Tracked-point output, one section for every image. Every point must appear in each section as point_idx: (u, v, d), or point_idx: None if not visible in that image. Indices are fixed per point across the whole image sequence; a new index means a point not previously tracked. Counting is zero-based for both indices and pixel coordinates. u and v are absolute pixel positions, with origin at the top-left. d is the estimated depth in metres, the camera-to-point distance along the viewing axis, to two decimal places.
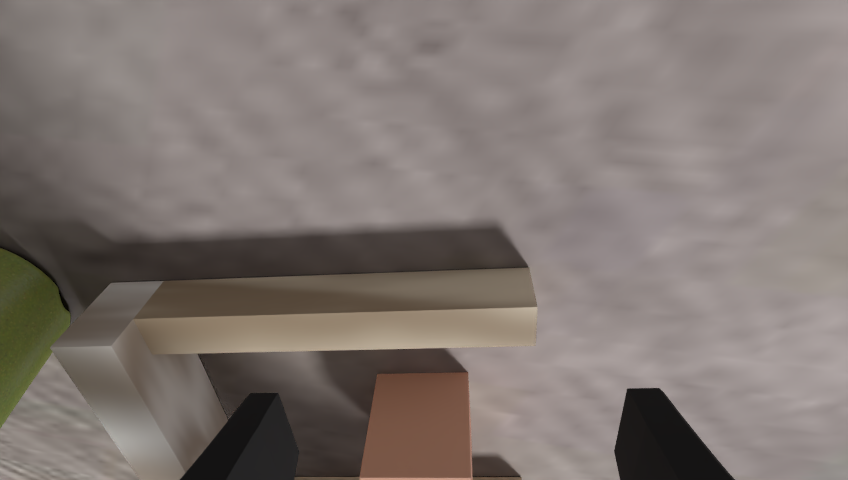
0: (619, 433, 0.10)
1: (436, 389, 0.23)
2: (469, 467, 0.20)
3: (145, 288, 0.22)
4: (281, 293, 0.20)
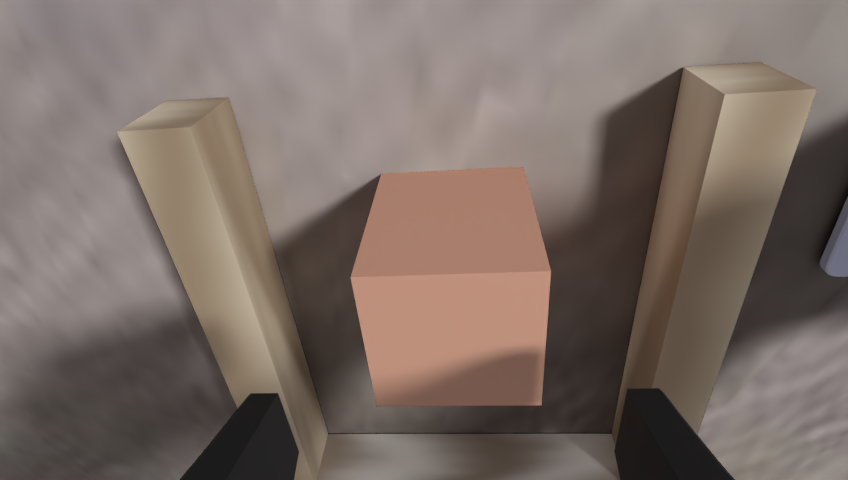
0: (619, 433, 0.10)
1: None
2: (354, 267, 0.12)
3: None
4: None
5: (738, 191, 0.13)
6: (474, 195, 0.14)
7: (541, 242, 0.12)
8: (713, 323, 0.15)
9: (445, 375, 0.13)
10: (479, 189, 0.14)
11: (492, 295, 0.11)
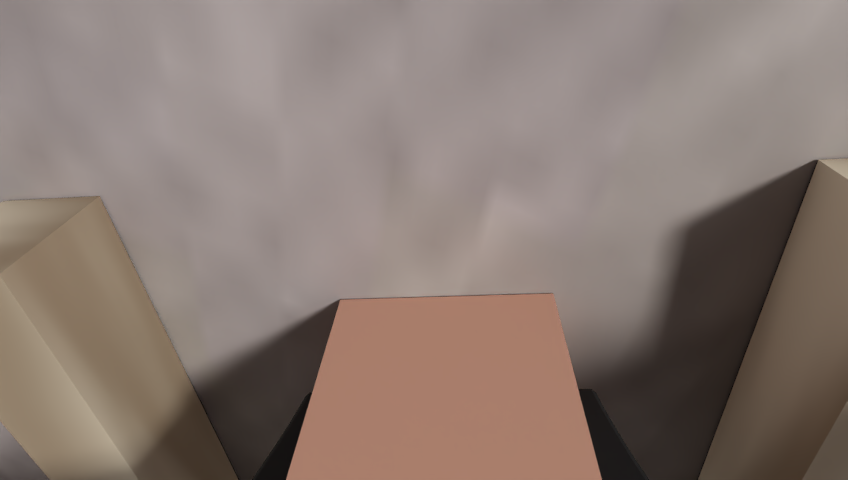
0: None
1: None
2: None
3: None
4: None
5: None
6: (480, 359, 0.09)
7: None
8: None
9: None
10: (488, 345, 0.09)
11: None
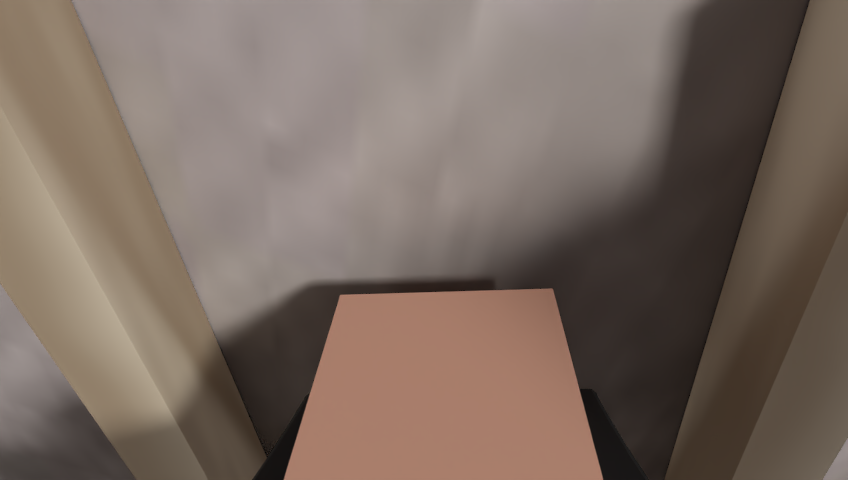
0: None
1: None
2: None
3: None
4: None
5: None
6: (480, 353, 0.09)
7: None
8: None
9: None
10: (488, 339, 0.09)
11: None
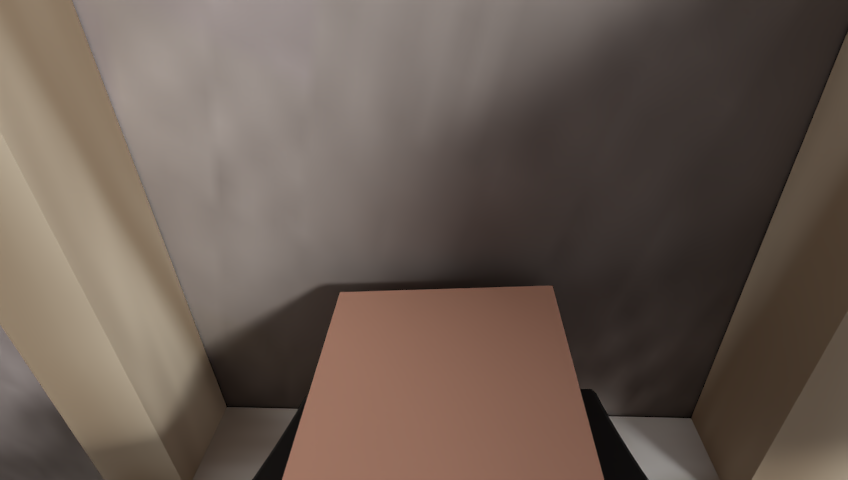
0: None
1: None
2: None
3: None
4: None
5: None
6: (480, 350, 0.09)
7: None
8: None
9: None
10: (487, 336, 0.09)
11: None
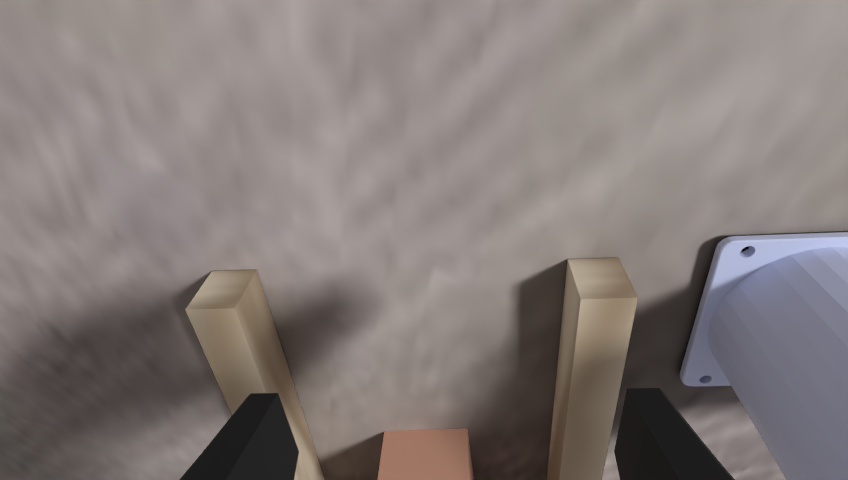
0: (619, 433, 0.10)
1: None
2: None
3: None
4: None
5: (599, 349, 0.19)
6: (437, 459, 0.25)
7: None
8: (597, 425, 0.22)
9: None
10: (440, 453, 0.25)
11: None
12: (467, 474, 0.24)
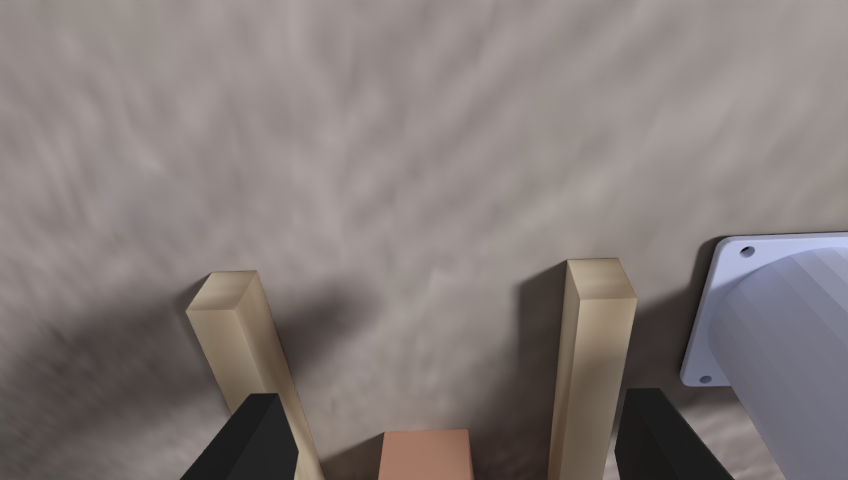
0: (619, 433, 0.10)
1: None
2: None
3: None
4: None
5: (599, 350, 0.19)
6: (437, 460, 0.25)
7: None
8: (597, 425, 0.22)
9: None
10: (440, 453, 0.25)
11: None
12: (468, 475, 0.24)
